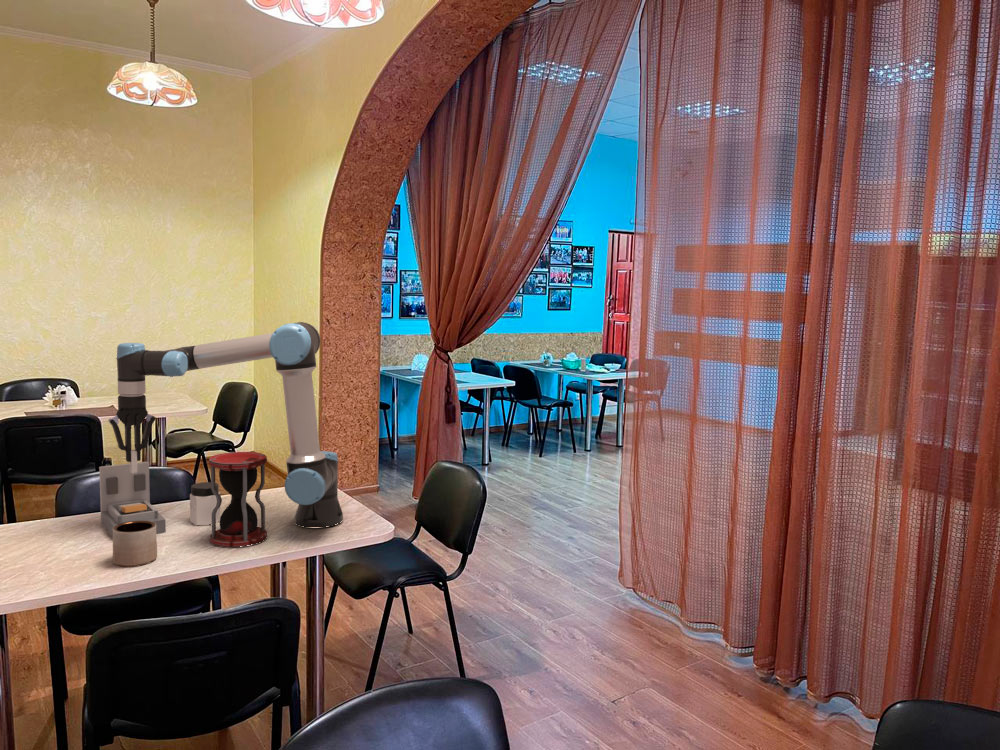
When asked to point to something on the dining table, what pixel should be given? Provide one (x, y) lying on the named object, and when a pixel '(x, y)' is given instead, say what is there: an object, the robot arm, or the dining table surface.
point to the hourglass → (238, 499)
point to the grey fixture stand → (126, 496)
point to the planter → (134, 543)
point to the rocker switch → (132, 507)
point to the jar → (203, 503)
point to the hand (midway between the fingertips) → (133, 471)
